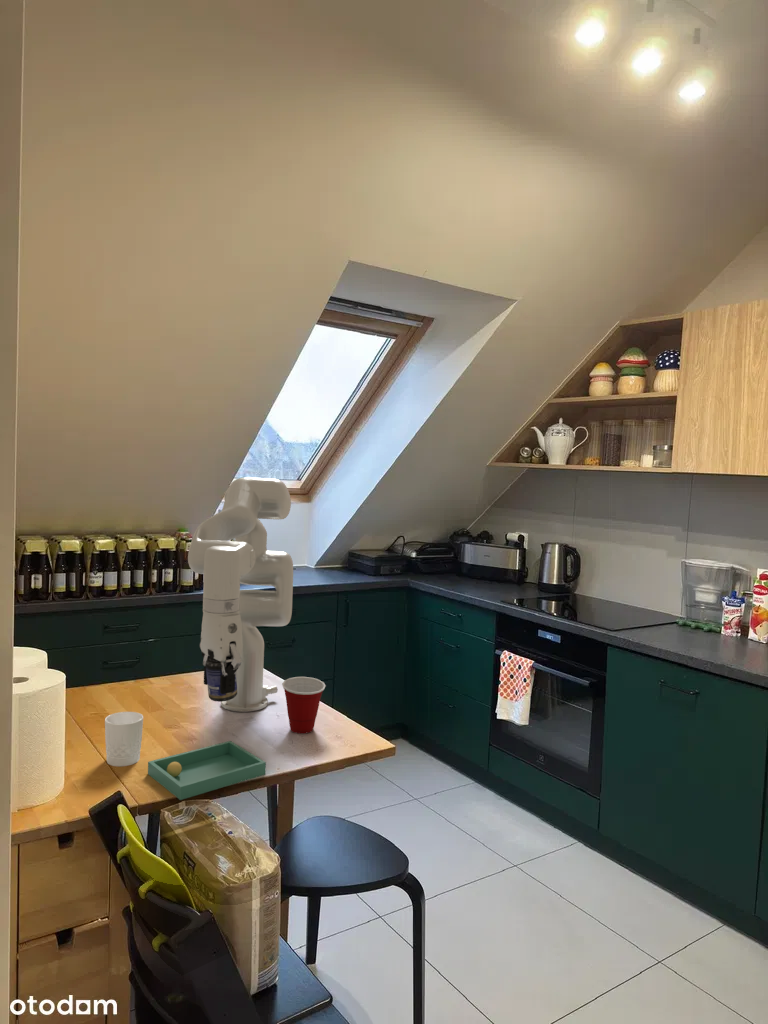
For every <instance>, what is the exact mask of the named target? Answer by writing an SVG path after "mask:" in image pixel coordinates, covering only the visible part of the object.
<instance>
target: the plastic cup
mask: <svg viewBox="0 0 768 1024" xmlns="http://www.w3.org/2000/svg"><path fill="white" fill-rule="evenodd" d="M281 685H282V687H283V690H284V696H285V700H286V701H285V702H286V710H287V717H288V723H289V728H290V731H291V732H292V733H294V734H295V733H296V734H299V735H301V734H308V733H312V732H313V731H314V728H315V724H316V719H317V716H318V710H319V706H320V703H321V698H322V695H323V691H324V690H325V688H326V684H325V682H324V681H321V680H320V679H318V678H316V677H315V678H314V677H311V676H310V677H307V676H295V677H289V678H287V679H284V681H283V682H282V684H281Z"/></svg>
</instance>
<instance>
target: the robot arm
mask: <svg viewBox="0 0 768 1024" xmlns="http://www.w3.org/2000/svg"><path fill="white" fill-rule="evenodd" d="M290 494H291V493H290V492H289V489H288V487H287V485H286V484H285V483H284V482H283V481H282V480H280V479H277V478H267V477H266V478H261V477H240V478H236V479H235V480H233V481H232V482H231V483H230V485H229V486H228V488H227V489H226V491H224V496H223V500H224V501H223V506H222V510H221V511H220V512H216V513H215V514H213V515H212V516H211V517H209V518H207V519H205V520H204V521H202V522H201V523H200V524H199V525H198V526H197V527H196V529H195V531H194V533H193V536H192V539H191V542H190V544H189V545H190V546H189V549H188V553H187V555H188V556H187V562H188V566H189V568H190V569H191V571H193V572H194V573H195V574H200V575H203V591H202V593H203V594H202V621H201V630H200V631H201V632H200V642H199V648H200V650H201V656H202V657H203V661H202V665H203V666H204V667H203V684H204V685H206V686H208V685H207V674H206V661H207V659H208V658H209V655H208V649H209V650H211V651H213V652H214V659H216V660H218V661H220V662H221V668H222V674H223V675H220V693H221V694H226V693H230V692H234V691H235V674H236V680H237V695H236V696H235V697H234V698H233V699H231V700H228V701H222V702H220V705H221V708H223V709H225V710H226V711H227V710H228V711H232V712H240V713H245V712H246V713H248V712H255V711H260V710H262V709H264V708H266V707H268V704H269V699H268V698H267V696H269V695H272V694H276V693H278V687H277V685H274V686H270V687H269V685H263V684H264V663H265V662H264V661H265V660H264V659H265V658H264V657H265V641H264V637H263V635H262V634H261V632H260V631H259V629H258V628H257V627H284V626H287V625H288V624H289V623H290V622H291V619H292V615H293V614H292V613H293V589H294V563H293V559H292V556H291V555H290V553H288V552H285V551H282V550H281V551H280V550H279V551H278V550H268V549H267V546H268V545H267V544H268V543H267V542H268V541H267V540H268V538H267V537H268V532H267V529H266V527H265V526H264V525H263V523H262V521H261V520H284V519H286V518H287V517H288V516H289V514H290V512H291V507H292V500H291V495H290ZM241 585H245V586H246V585H248V586H265V587H267V586H268V587H274V589H275V590H261V589H241ZM226 657H230V659H228V660H226ZM229 662H230V665H229V666H228V667H226V663H229Z"/></svg>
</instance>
